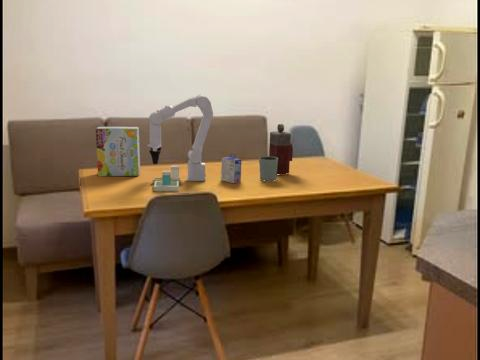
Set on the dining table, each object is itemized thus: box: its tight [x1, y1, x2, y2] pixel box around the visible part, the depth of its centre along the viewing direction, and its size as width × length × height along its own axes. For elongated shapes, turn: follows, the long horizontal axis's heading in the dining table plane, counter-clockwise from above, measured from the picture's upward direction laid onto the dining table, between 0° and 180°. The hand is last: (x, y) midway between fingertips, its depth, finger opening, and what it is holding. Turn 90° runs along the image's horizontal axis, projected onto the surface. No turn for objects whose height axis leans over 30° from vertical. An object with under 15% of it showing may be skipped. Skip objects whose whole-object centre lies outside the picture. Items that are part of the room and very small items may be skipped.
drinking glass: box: [258, 155, 278, 182], centre depth 266 cm, size 10×10×12 cm
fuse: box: [170, 165, 180, 179], centre depth 253 cm, size 4×3×8 cm
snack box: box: [95, 126, 141, 177], centre depth 266 cm, size 22×9×26 cm, turn 95°
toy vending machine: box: [268, 123, 294, 174], centre depth 281 cm, size 9×11×28 cm
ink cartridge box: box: [220, 152, 242, 184], centre depth 261 cm, size 10×6×14 cm, turn 48°
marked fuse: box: [161, 170, 171, 186], centre depth 243 cm, size 4×3×8 cm
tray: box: [153, 181, 180, 192], centre depth 244 cm, size 12×11×2 cm
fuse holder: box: [152, 176, 182, 186], centre depth 253 cm, size 14×7×3 cm, turn 96°
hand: (155, 162), depth 257 cm, fingers open, 7 cm apart
